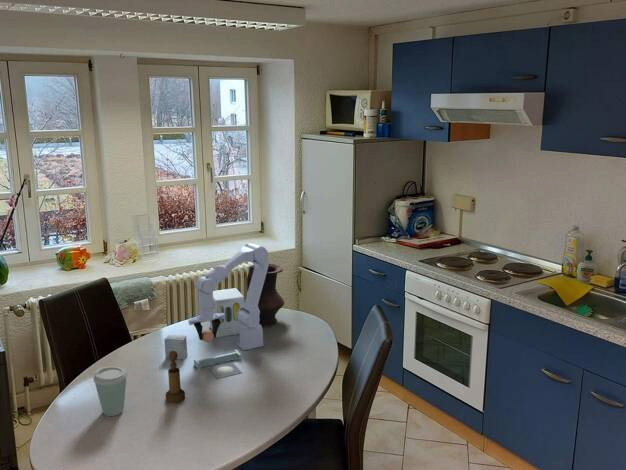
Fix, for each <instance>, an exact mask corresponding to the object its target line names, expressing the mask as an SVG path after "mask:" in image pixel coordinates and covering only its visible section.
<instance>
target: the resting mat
mask: <svg viewBox="0 0 626 470" xmlns="http://www.w3.org/2000/svg"><path fill="white" fill-rule="evenodd" d="M208 369H209V371H210V372H211V373H212V374H213V376H214V377H215V378H216V379H217V380H218V379H222V378H226V377H231V376H235V375H238V374H239V375H240V374H242V373H243V372H242V371H241V369H240V368H238V367H237V365H236V364H235V363H234V362H228V363H224V364H218V365H214V366H211V367H208Z"/></svg>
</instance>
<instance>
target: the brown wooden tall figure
mask: <svg viewBox="0 0 626 470" xmlns="http://www.w3.org/2000/svg"><path fill="white" fill-rule="evenodd" d="M177 356H178V355H177V353H176V352H175V351H171V352H170V353H169V358H168V360H170V363H169V366H170V368H169V369H168V370H167V374H168V390H167V391H166V392H165V401H166V402H167V404H172V405H174V404H175V405H176V404H180V403H182V402H183V401H185V399H186V392H185V390H184V389H182V388H181V370H180V368H179V367H177V362H176V360H178V359H177Z"/></svg>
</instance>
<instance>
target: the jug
mask: <svg viewBox="0 0 626 470" xmlns="http://www.w3.org/2000/svg"><path fill="white" fill-rule="evenodd" d="M268 264H269V265H268V270H267V273H266V277H265V280H264V284H263V288H262V291H261V295H260V299H259V302H258V308H259V311H260V314H259V319H260V321H259V324H260V325H261V326H262V327H272V326H274V325H276V324H277V322H278V319H277V318H276V314H277V313H278V312H279V311H280V310H281V309H282V308H283V306H285V300H284V298H283V297H282V296H281V294H280V293H279V292H278V291H277V287H276V286H277V278H278V274H279V273H282V272H283V270H284V269H283V267H282V266H280V265H277V264H273V263H268ZM254 268H255V266H254V265H253V264H251V265H250V266H249V267H248V273H247V276H246V289H247V290H246V293H248V290H249V286H250V282H251V279H252V275H253V271H254ZM244 303H245V301H244Z"/></svg>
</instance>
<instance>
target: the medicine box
mask: <svg viewBox="0 0 626 470" xmlns="http://www.w3.org/2000/svg"><path fill="white" fill-rule="evenodd" d="M163 340H164V352H165V353H164V354H165V359H169V353H170V352H171V351H175V352H176V353H177V355H178V356H177V359H176V360H185V359H186V357H187V355H188V342H187V341H188V340H187V336H186V335H179V334H177V335H176V334H168V335H166V337H165V338H164V339H163Z"/></svg>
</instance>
